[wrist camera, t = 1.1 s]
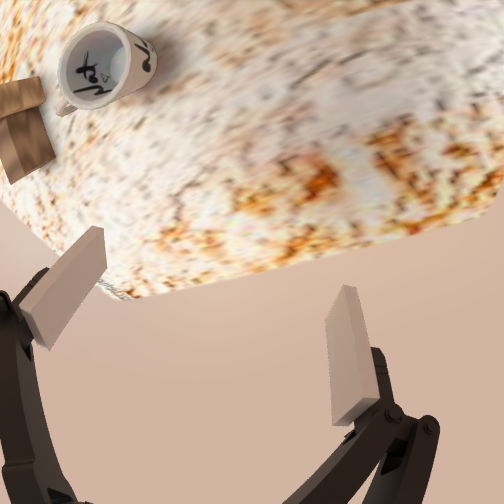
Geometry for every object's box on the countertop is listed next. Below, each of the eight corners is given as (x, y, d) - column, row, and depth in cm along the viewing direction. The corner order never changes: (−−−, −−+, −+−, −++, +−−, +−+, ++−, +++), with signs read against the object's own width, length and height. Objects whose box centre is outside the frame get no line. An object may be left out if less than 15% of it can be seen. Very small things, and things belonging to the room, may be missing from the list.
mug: (182, 69, 31) (149, 67, 22) (104, 133, 36) (62, 152, 27) (144, 16, 26) (104, 3, 18) (72, 83, 31) (27, 92, 23)
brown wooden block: (15, 92, 31) (-17, 102, 25) (30, 78, 30) (-4, 86, 24) (40, 167, 40) (10, 184, 33) (56, 156, 38) (24, 173, 32)
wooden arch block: (10, 103, 32) (-33, 118, 23) (38, 76, 30) (-9, 86, 21) (16, 125, 35) (-26, 143, 26) (45, 100, 33) (-2, 115, 24)
